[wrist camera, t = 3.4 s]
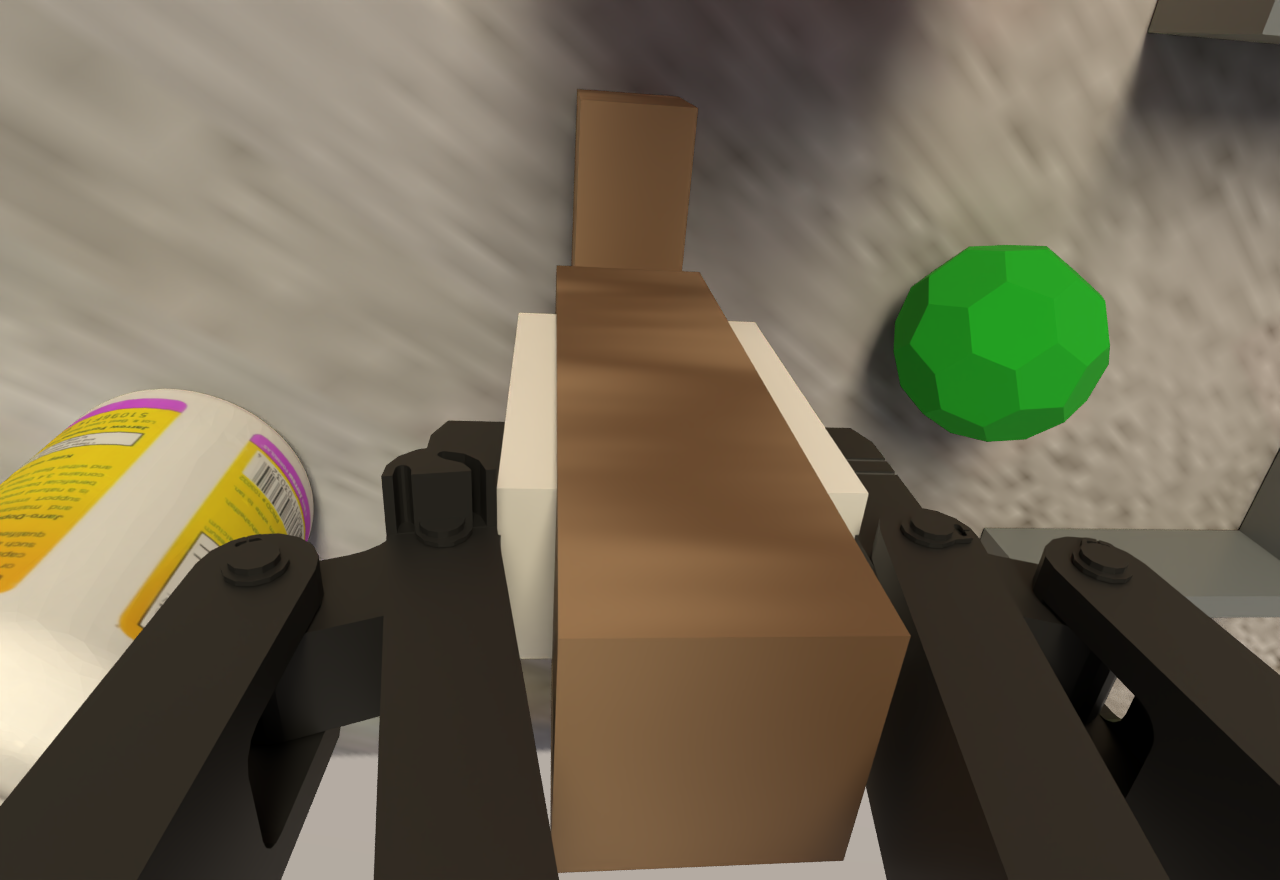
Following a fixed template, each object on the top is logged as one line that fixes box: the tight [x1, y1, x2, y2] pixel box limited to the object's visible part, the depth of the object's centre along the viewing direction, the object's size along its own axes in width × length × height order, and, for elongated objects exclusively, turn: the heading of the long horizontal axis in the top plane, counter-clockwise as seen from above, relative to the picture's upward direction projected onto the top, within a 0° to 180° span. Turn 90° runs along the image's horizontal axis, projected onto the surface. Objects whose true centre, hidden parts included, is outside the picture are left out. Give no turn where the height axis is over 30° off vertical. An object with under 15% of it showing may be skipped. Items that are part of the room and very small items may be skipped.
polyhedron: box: [894, 245, 1110, 442], centre depth 20 cm, size 5×5×5 cm
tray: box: [981, 0, 1280, 618], centre depth 21 cm, size 10×16×4 cm, turn 176°
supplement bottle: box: [0, 389, 314, 806], centre depth 17 cm, size 7×7×13 cm
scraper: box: [551, 89, 911, 873], centre depth 14 cm, size 3×10×15 cm, turn 176°
